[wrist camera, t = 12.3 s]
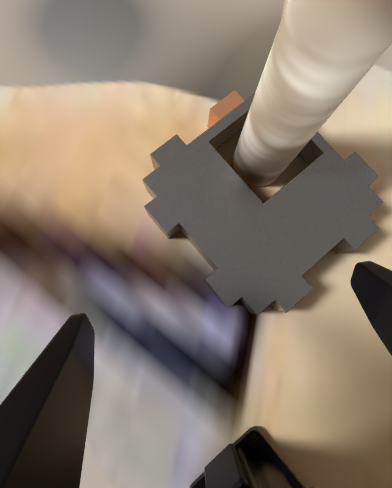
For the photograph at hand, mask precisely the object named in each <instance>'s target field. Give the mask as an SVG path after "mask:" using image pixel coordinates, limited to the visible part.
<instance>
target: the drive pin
mask: <svg viewBox="0 0 392 488" xmlns="http://www.w3.org/2000/svg"><path fill="white" fill-rule="evenodd" d="M391 44H392V0H289V1H288V3H287V6H286V9H285V12H284V15H283V17H282V20H281V23H280V26H279V29H278V31H277V34H276V37H275V40H274V43H273V45H272V48H271V51H270V54H269V57H268V59H267V62H266V65H265V68H264V71H263V73H262V76H261V79H260V82H259V85H258V87H257V90H256V93H255V96H254V99H253V101H252V104H251V107H250V110H249V113H248V115H247V118H246V121H245V124H244V127H243V129H242V132H241V135H240V138H239V141H238V143H237V146H236V149H235V152H234V155H233V168H234V170H235V172H236V173H237V175H238V176H239V177H240V178H241V179H242V180H243V181H244V182H245V183H247V184H249V185H252V186H266V185H269V184H271V183H273V182H274V181H275V180H276V179H278V177H279V176H280V175H281V174H282V173H283V171H284V170H285V169H286V168H287V167H288V165H289V164H290V163H291V162H292V161H293V160H294V158H295V157H296V156H297V155H298V154H299V152H300V151H301V150H302V149H303V148H304V147H305V145H306V144H307V143H308V142H309V141H310V139H311V138H312V137H313V136H314V135H315V134H316V132H317V131H318V130H319V129H320V128H321V126H322V125H323V124H324V123H325V122H326V120H327V119H328V118H329V117H330V116H331V115H332V113H333V112H334V111H335V110H336V109H337V107H338V106H339V105H340V104H341V103H342V102H343V100H344V99H345V98H346V97H347V96H348V94H349V93H350V92H351V91H352V90H353V89H354V87H355V86H356V85H357V84H358V83H359V81H360V80H361V79H362V78H363V77H364V75H365V74H366V73H367V72H368V71H369V70H370V68H371V67H372V66H373V65H374V64H375V62H376V61H377V60H378V59H379V58H380V56H381V55H382V54H383V53H384V52H385V51H386V49H387V48H388V47H389V46H390V45H391Z"/></svg>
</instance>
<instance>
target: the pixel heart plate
mask: <svg viewBox="0 0 392 488" xmlns="http://www.w3.org/2000/svg"><path fill="white" fill-rule="evenodd" d="M254 96H255V93H254V94H253V95H252V96H250V97H249V98H248V99H247V100H245V101H244V99H243V98H242V97H241V96H240V95H239V94H238V93H237V92H236V91H233V92H232V93H230V94H229V95H228V96H226V97H225V98H224V99H222V100H221V101H220V102H218V103H217V104H216V105H215V106H213V107H212V108H211V109H210V113H209V121H208V127H209V129H208V130H206V131H205V132H204V133H202V134H201V135H200V136H198V137H197V138H196V139H195V140H193V141H192V142H191V143H189V144H188V145H186V144H185V143H184V142H183V141H182V140H181V139H180V138H179V136H178V135H177V134H176V135H175V136H174V137H172V138H171V139H170V140H168V141H167V142H166V143H165V144H163V145H162V146H161V147H159V148H158V149H157V150H155V151H154V152H153V153H151V154H150V155H151V159H152V163H153V166H154V168H155V170H154V171H153V172H152V173H150V174H149V175H148V176H147V177H145V178H144V179H143V182H144V184H145V187H146V189H147V191H148V192H149V193H150V195H151V196H152V197H153V198H154V199H153V200H152V201H150V202H149V203H148V204H147V205H145V206H144V207H145V209H146V211H147V213H148V215H149V216H150V217H151V218H152V219H153V221H154V222H155V223H156V224H157V225H158V227H159V228H160V229H161V230H162V231H163V233H164V234H165V235H166V236H167V237H168V239H169V238H170V237H171V236H172V235H174V234H175V233H176V232H177V231H179V230H181V231H182V232H183V234H184V235H185V236H186V237H187V238H188V240H189V241H190V242H191V243H192V244H193V245H194V247H195V248H196V249H197V250H198V251H199V253H200V254H201V255H202V256H203V257H204V258H205V260H206V261H207V262H208V263H209V264H210V266H211V267H212V268H213V269H214V270H215V271H214V272H212V273H211V274H210V275H209V276H208V277H207V278H205V279H204V282H205V283H206V284H207V285H208V286H209V287H210V289H211V290H212V291H213V292H214V293H215V295H216V296H217V297H218V298H219V299H220V301H221V302H222V303H223V304H224V305H225V306H227V307H231V306H232V305H233V304H234V303H235V302H236V301H237V300H240V301H241V302H242V303H243V305H244V306H245V307H246V308H247V309H248V311H249V312H251V313H253V314H256V315H258V314H260V313H261V312H262V311H263V310H264V309H265V308H266V307H267V306H268V305H270V304H271V305H272V306H273V307H274V308H275V310H278V311H282V312H286V313H287V312H288V311H289V310H290V309H291V308H292V307H293V306H294V305H295V304H296V303H298V302H299V301H300V300H301V299H302V298H303V297H304V296H305V295H306V294H307V293H308V292H310V291H311V290H312V288H311V286H310V285H309V284H308V283H307V282H306V281H305V280H304V278H303V277H302V275H303V274H304V273H305V272H306V271H307V270H309V269H310V268H311V267H312V266H313V265H314V264H315V263H316V262H317V261H319V260H320V259H321V258H322V257H323V256H324V255H325V254H326V253H327V252H329V251H330V250H331V249H332V248H333V249H334V251H335V252H336V253H337V254H339V253H344V252H348V251H353V250H356V249H357V248H358V247H359V246H360V245H361V244H362V243H363V242H364V241H366V240H367V239H368V238H369V237H370V236H371V235H372V234H373V233H374V232H375V231H377V230H378V229H379V227H378V226H377V225H376V224H375V223H374V222H373V221H372V220H371V219H370V218H369V215H370V214H371V213H372V212H373V211H374V210H375V209H376V208H378V207H379V206H380V205H381V204H382V203H383V201H382V200H381V199H380V198H379V197H378V196H377V195H376V194H375V193H374V192H373V191H372V189H371V188H370V187H369V186H368V185H369V184H370V183H372V182H373V181H374V180H375V179H376V178H377V177H378V175H377V174H376V173H375V172H374V171H373V170H372V169H371V168H370V167H369V166H368V164H367V163H366V162H365V161H364V160H363V159H362V158H361V157H360V156H359V155H358V154H357V153H356V152H354V153H353V154H352V155H350V156H349V157H348V158H347V159H345V160H343V159H342V158H341V157H340V156H339V154H338V153H337V152H336V151H335V150H334V149H333V148H332V147H331V146H330V145H329V144H328V143H327V142H326V141H325V140H324V139H323V137H322V136H321V135H320V134H319V133H318V132H316V134H315V135H314V136H313V137H312V138H311V139H310V141H309V142H308V143H307V144H306V145H305V147H304V148H303V149H302V150H301V151H300V152H299V155H300V156H301V157H302V158H303V159H304V160H305V161H306V162H307V163H308V164H309V166H308V167H306V168H305V169H304V170H303V171H302V172H301V173H299V174H298V175H297V176H296V177H295V178H293V179H292V180H291V181H290V182H289V183H287V184H286V185H285V186H284V187H283V188H281V189H280V190H279V191H278V192H277V193H275V194H274V195H273V196H272V197H271V198H269V199H268V200H267V201H266V202H265V203H264V204H263V203H262V201H261V200H260V199H259V198H258V197H257V196H256V195H255V194H254V192H253V191H252V190H251V189H250V188H249V187H248V186H247V185H246V183H245V182H244V181H243V180H242V179H241V178H240V177H239V176H238V175H237V173H236V172H235V171H234V170H233V169H232V168H231V167H230V166H229V164H228V163H227V162H226V161H225V160H224V159H223V158H222V157H221V155H220V154H219V153H218V152H217V151H216V150H215V149H216V148H217V147H218V146H220V145H221V144H222V143H224V142H225V141H226V140H227V139H229V138H230V137H231V136H232V135H234V134H235V133H236V132H238V131H239V130H240V129H241V128H243V127H244V124H245V121H246V118H247V115H248V113H249V110H250V107H251V104H252V101H253V99H254Z"/></svg>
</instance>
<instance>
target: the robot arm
mask: <svg viewBox="0 0 392 488" xmlns="http://www.w3.org/2000/svg"><path fill="white" fill-rule="evenodd" d="M351 286H352V289H353V291H354V292H355V294H356V296H357V298H358V300H359V302H360V304H361V306H362V308H363V310H364V312H365V314H366V315H367V317H368V319H369V321H370V323H371V325H372V326H373V328H374V330H375V331H376V333H377V334H378V336H379V337H380V339H381V340H382V342H383V343H384V345H385V346H386V348H387V349H388V351H389V352H390V354H391V355H392V271H391V270H389V269H387V268H384V267H382V266H380V265H378V264H376V263H374V262H371V261H365V262H360V263H357V264H356V265H355V268H354V271H353V274H352V278H351ZM94 337H95V336H94V329H93V327H92V325H91V323H90V321H89V319H88V317H87V315H86V314H84V313H80V314H75V315H72V316H70V317H69V318H68V320H67V321H66V322H65V323H64V325H63V326H62V327H61V329H60V330H59V331H58V332H57V334H56V335H55V336H54V337H53V339H52V340H51V341H50V343H49V344H48V345H47V346H46V348H45V349H44V350H43V351H42V353H41V354H40V355H39V356H38V358H37V359H36V360H35V362H34V363H33V364H32V365H31V367H30V368H29V369H28V370H27V372H26V373H25V374H24V375H23V377H22V378H21V379H20V381H19V382H18V383H17V384H16V386H15V387H14V388H13V389H12V391H11V392H10V393H9V395H8V396H7V397H6V398H5V400H4V401H3V402H2V403H1V405H0V488H79V485H80V478H81V471H82V463H83V456H84V449H85V441H86V434H87V427H88V419H89V412H90V405H91V397H92V390H93V379H94ZM252 434H256V438H251V435H252ZM190 488H305V487H304V486H303V485H302V484H301V482H300V481H299V480H298V479H297V477H296V476H295V475H294V474H293V472H292V471H291V470H290V469H289V468H288V466H287V465H286V464H285V463H284V461H283V460H282V459H281V458H280V456H279V455H278V454H277V453H276V451H275V450H274V449H273V448H272V447H271V445H270V444H269V443H268V442H267V440H266V439H265V438H264V437H263V435H262V434H261V433H260V432H259V431H258V429H256V428H254V427H253V428H250V429H248V430H247V431H246V432H245V433H244V434H243V435H242V436H241V437H240V438H239V439H238V440H237V441H236V442H235V443H234V444H229V445H228V446H227V447H226V448H225V449H224V450H223V451H222V452H220V453H219V454H218V455H217V456H216V457H215V458H214V459H213V460H212V461H211V462H210V463H209V464H208V465H207V466H206V467H205V471H204V472H203V473H202V474H201V475H200V476H199V477H198V478H197V479H196V480H195V481H194V482H193V483H192V484H191V486H190ZM310 488H313V486H311V487H310Z"/></svg>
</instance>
